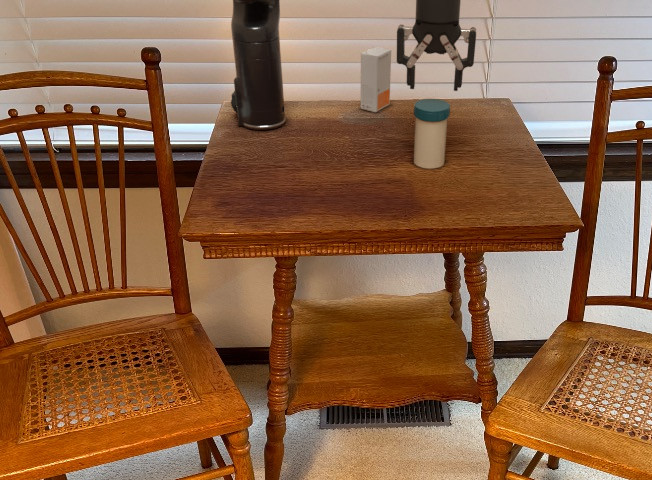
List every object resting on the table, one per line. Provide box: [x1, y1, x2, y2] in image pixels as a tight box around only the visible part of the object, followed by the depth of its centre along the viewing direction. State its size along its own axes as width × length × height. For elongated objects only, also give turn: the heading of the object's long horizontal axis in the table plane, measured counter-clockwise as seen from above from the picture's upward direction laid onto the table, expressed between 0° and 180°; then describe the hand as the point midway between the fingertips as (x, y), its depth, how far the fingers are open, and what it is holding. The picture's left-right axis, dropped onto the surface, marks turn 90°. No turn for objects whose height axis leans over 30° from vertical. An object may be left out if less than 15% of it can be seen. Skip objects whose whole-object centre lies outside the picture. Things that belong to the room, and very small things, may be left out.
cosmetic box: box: [360, 46, 392, 113], centre depth 163 cm, size 6×4×12 cm
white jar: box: [413, 116, 449, 170], centre depth 142 cm, size 6×6×11 cm
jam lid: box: [413, 98, 451, 122], centre depth 139 cm, size 7×7×2 cm
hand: (433, 88), depth 136 cm, fingers open, 7 cm apart
